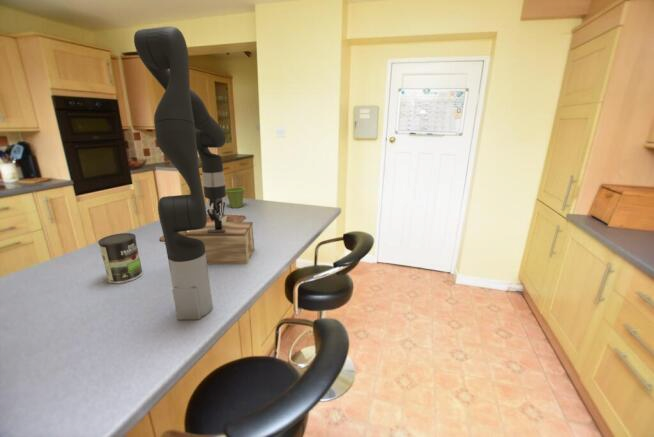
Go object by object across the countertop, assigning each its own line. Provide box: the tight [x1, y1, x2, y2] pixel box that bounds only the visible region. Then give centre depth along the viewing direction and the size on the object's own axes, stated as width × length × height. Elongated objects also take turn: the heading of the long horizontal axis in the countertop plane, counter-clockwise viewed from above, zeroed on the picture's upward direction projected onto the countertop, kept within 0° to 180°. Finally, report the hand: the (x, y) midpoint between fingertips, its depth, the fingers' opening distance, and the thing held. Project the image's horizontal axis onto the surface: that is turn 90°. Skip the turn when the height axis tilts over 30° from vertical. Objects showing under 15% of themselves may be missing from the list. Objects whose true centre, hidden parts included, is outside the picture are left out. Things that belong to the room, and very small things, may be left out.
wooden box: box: [187, 224, 255, 265], centre depth 118 cm, size 14×21×11 cm, turn 91°
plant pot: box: [226, 186, 245, 209], centre depth 188 cm, size 12×12×11 cm
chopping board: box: [159, 213, 247, 245], centre depth 152 cm, size 45×27×3 cm, turn 173°
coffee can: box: [97, 232, 144, 284], centre depth 102 cm, size 10×10×14 cm
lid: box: [186, 221, 253, 236], centre depth 117 cm, size 14×21×2 cm, turn 91°
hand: (218, 229), depth 114 cm, fingers closed
